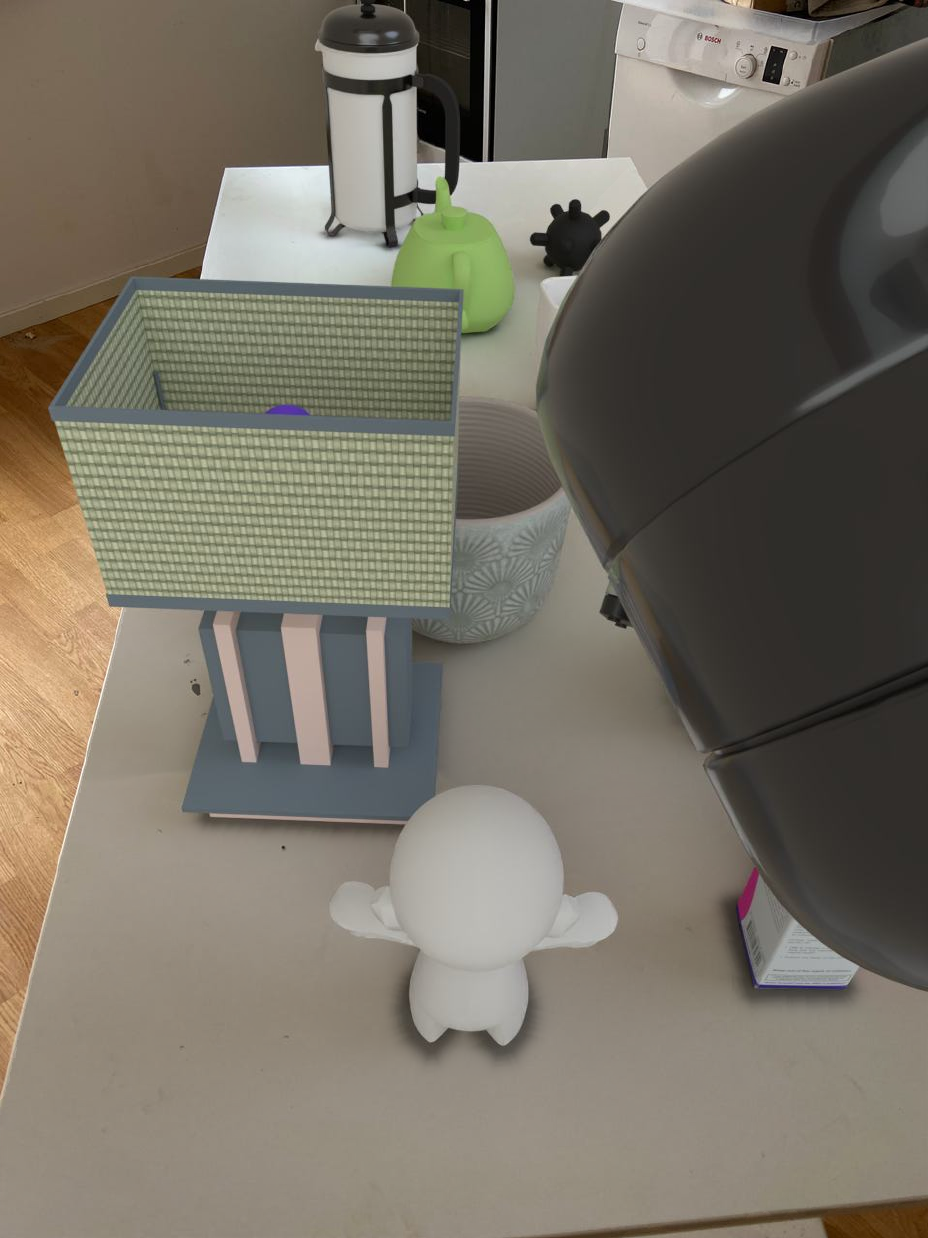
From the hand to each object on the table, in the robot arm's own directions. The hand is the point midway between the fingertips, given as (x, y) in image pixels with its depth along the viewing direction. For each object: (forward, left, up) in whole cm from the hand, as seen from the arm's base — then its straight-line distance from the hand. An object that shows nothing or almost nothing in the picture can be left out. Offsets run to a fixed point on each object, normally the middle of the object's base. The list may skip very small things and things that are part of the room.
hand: (782, 648), depth 43 cm
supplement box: (-6, -4, -26) cm, 27 cm away
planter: (+30, -14, -26) cm, 43 cm away
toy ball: (+62, -73, -26) cm, 100 cm away
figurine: (+7, +13, -26) cm, 30 cm away
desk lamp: (+27, +5, -26) cm, 38 cm away
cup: (+40, -43, -26) cm, 65 cm away
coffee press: (+90, -67, -26) cm, 116 cm away
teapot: (+66, -54, -26) cm, 90 cm away
